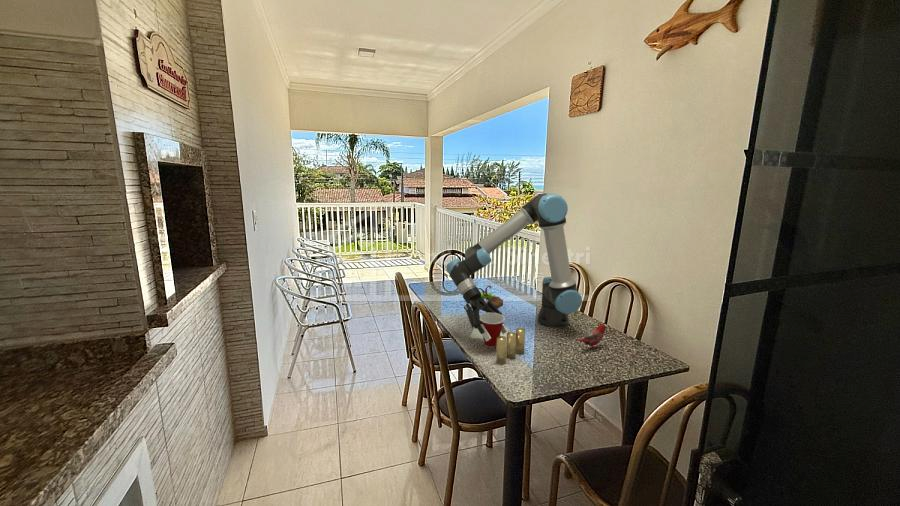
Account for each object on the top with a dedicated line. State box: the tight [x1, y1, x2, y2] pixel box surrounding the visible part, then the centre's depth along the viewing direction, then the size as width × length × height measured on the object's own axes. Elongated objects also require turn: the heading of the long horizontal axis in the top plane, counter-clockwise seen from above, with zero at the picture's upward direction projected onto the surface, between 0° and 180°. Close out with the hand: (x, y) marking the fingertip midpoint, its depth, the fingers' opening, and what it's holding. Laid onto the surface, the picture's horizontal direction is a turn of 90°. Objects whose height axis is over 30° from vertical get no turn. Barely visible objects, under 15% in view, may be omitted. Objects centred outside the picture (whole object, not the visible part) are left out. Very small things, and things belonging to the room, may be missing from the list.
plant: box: [477, 285, 504, 309], centre depth 213 cm, size 20×20×11 cm
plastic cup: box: [479, 312, 506, 348], centre depth 152 cm, size 11×11×12 cm
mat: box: [469, 326, 510, 341], centre depth 171 cm, size 16×16×1 cm
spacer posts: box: [496, 327, 526, 365], centre depth 146 cm, size 4×16×10 cm, turn 133°
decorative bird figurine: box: [575, 323, 607, 350], centre depth 152 cm, size 3×18×10 cm, turn 118°
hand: (497, 336), depth 150 cm, fingers closed on plastic cup, 10 cm apart
